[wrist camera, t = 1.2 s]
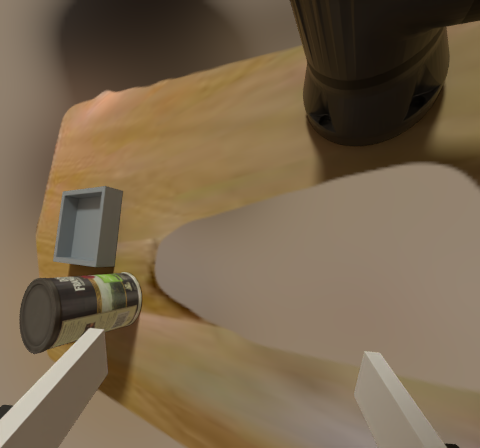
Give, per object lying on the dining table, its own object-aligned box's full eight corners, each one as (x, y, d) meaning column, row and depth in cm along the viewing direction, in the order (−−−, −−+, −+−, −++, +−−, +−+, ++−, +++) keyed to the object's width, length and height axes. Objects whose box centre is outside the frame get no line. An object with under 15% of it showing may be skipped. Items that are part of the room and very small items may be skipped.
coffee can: (112, 267, 48) (26, 271, 36) (146, 278, 43) (60, 287, 31) (103, 317, 48) (12, 339, 35) (136, 334, 43) (45, 366, 30)
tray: (80, 195, 57) (62, 191, 54) (122, 190, 50) (105, 186, 46) (71, 260, 55) (53, 261, 52) (114, 266, 48) (95, 267, 45)
